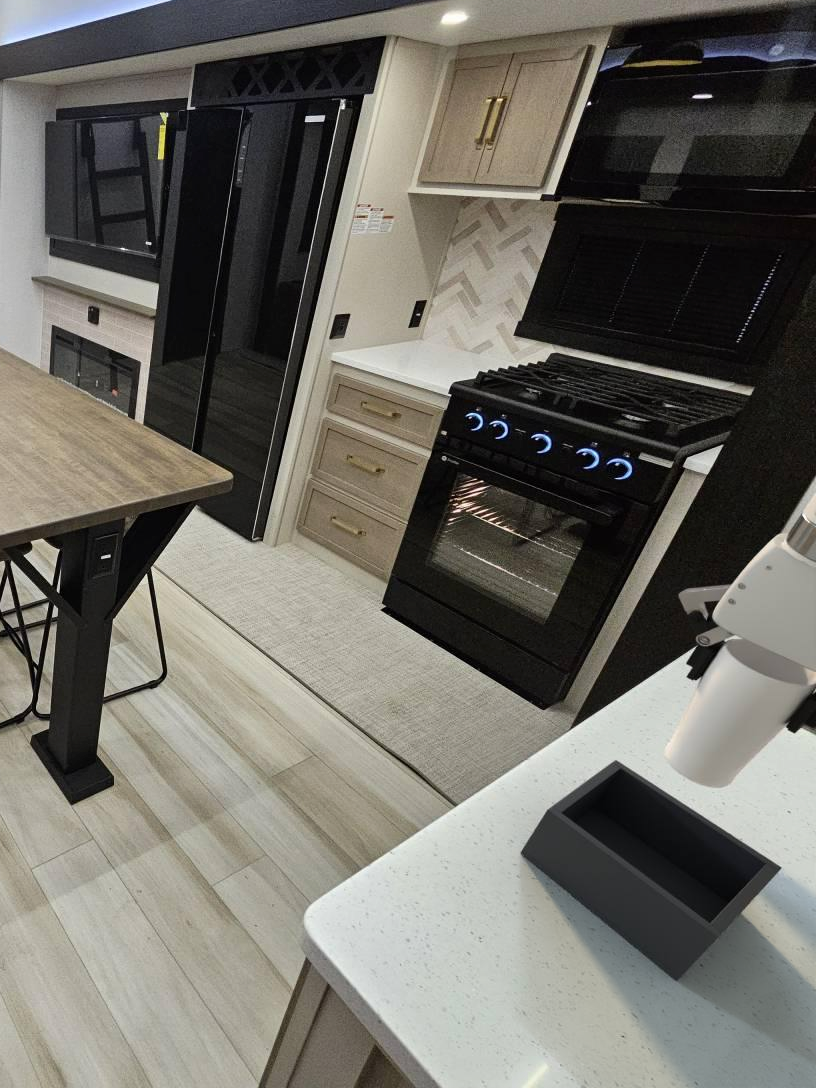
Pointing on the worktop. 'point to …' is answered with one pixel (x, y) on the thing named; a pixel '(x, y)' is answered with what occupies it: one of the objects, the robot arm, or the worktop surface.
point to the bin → (648, 865)
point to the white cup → (736, 712)
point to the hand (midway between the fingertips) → (744, 698)
